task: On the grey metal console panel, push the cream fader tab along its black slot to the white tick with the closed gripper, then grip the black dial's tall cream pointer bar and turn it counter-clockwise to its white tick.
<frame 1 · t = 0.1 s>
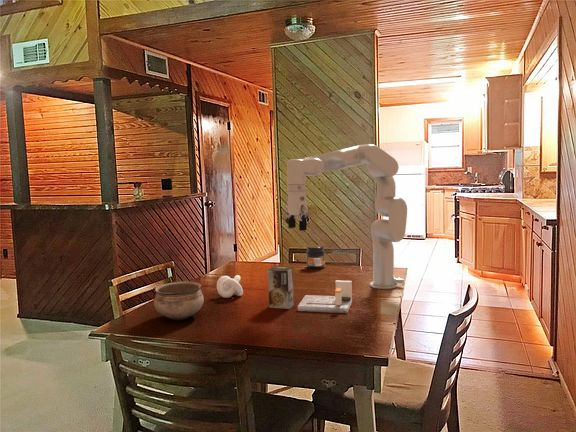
hand: (297, 229, 202), 31 cm above the table, tool pointing down, fingers open, 9 cm apart
supplement container: (315, 267, 269), on the table
cooking pot: (180, 318, 187), on the table
fader tab: (338, 296, 191), point 5 cm above the table, slide at 0.0 cm
dial: (343, 289, 199), point 6 cm above the table, hinge at 0.0°
coffee box: (281, 306, 198), on the table
white rounded piece: (232, 296, 216), on the table
console: (325, 305, 197), on the table
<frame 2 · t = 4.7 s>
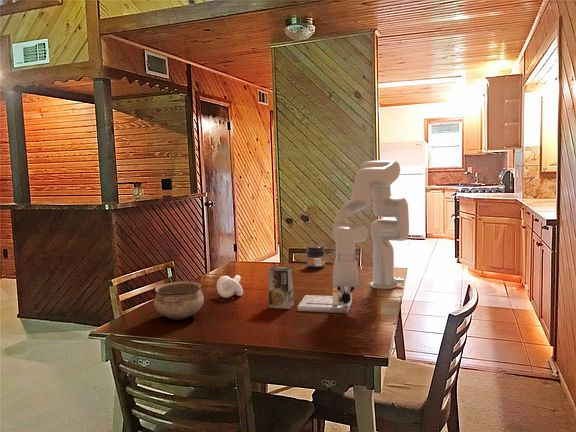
hand: (346, 302, 190), 3 cm above the table, tool pointing down, fingers closed
fader tab: (335, 296, 191), point 5 cm above the table, slide at 1.1 cm, touching gripper
everything else where it was.
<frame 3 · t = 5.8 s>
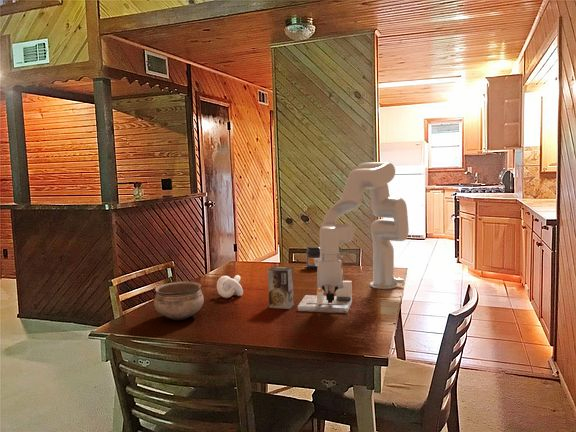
hand: (330, 302, 192), 3 cm above the table, tool pointing down, fingers closed
fader tab: (320, 295, 193), point 5 cm above the table, slide at 7.4 cm, touching gripper
everything else where it was.
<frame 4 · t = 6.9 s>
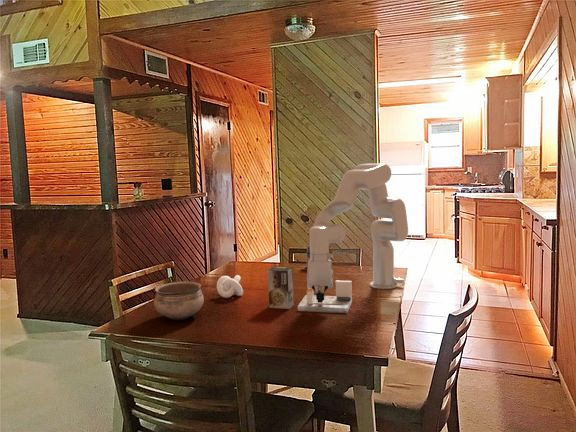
hand: (320, 301, 193), 3 cm above the table, tool pointing down, fingers closed
fader tab: (310, 295, 194), point 5 cm above the table, slide at 11.5 cm, touching gripper
everything else where it was.
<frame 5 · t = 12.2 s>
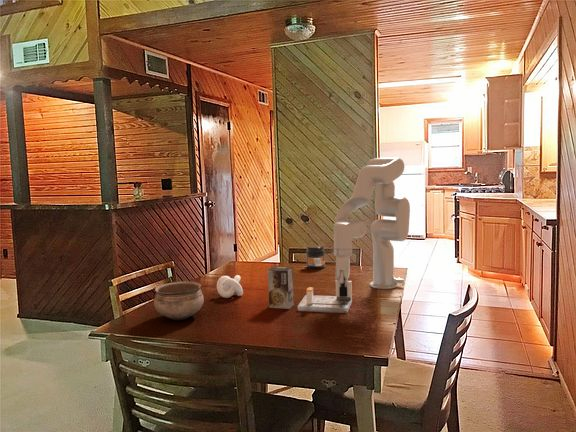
hand: (343, 294, 199), 4 cm above the table, tool pointing down, fingers closed on dial, 2 cm apart
fader tab: (310, 295, 194), point 5 cm above the table, slide at 11.6 cm
dial: (343, 289, 199), point 6 cm above the table, hinge at 0.0°, touching gripper
everything else where it was.
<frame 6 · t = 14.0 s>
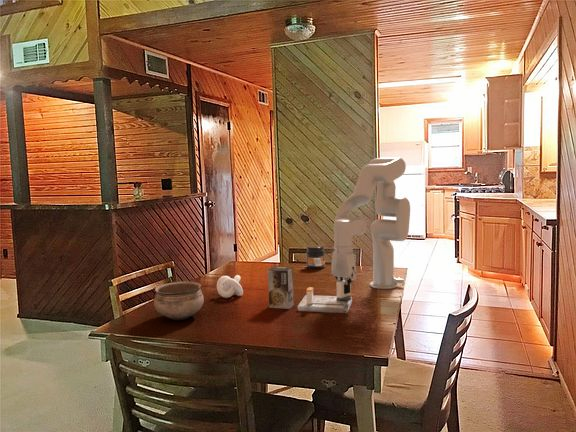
hand: (344, 292, 200), 5 cm above the table, tool pointing down, fingers closed on dial, 2 cm apart
dial: (343, 289, 199), point 6 cm above the table, hinge at 55.1°, touching gripper
everything else where it was.
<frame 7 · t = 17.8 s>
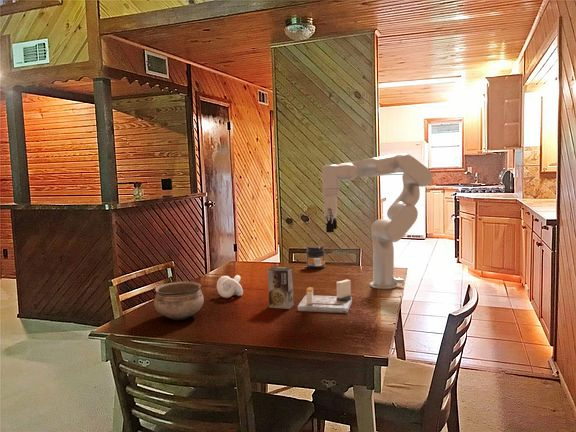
hand: (331, 230, 214), 28 cm above the table, tool pointing down, fingers open, 9 cm apart
dial: (343, 289, 199), point 6 cm above the table, hinge at 55.9°
everything else where it was.
at the end: fader tab slide at 11.6 cm; dial at +56° (first picture: +0°); the gripper is holding nothing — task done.
